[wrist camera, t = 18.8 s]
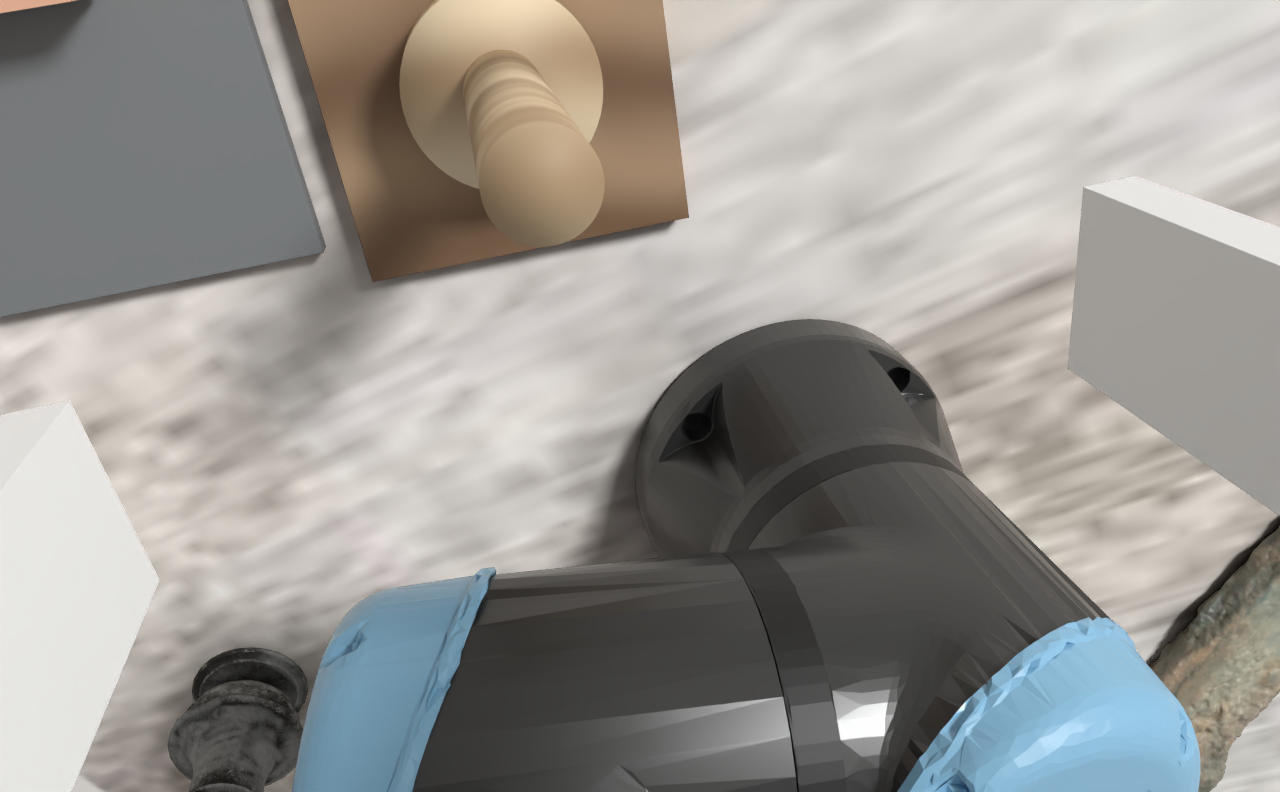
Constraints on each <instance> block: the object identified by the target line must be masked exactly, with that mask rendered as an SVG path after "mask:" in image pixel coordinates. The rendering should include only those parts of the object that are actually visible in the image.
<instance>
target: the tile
mask: <svg viewBox="0 0 1280 792" xmlns="http://www.w3.org/2000/svg"><path fill="white" fill-rule="evenodd" d="M71 1H76V0H0V13H5V12H11V11H17V10H23V9H29V8H35V7H41V6H47V5H53V4H59V3H65V2H71Z"/></svg>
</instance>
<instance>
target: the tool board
mask: <svg viewBox="0 0 1280 792" xmlns="http://www.w3.org/2000/svg"><path fill="white" fill-rule="evenodd" d="M432 1H434V0H288V2H289V6H290V9H291V12H292V16H293V19H294V22H295V26H296V29H297V32H298V36H299V39H300V42H301V45H302V49H303V52H304V55H305V59H306V62H307V65H308V69H309V72H310V75H311V79H312V82H313V85H314V89H315V92H316V95H317V99H318V102H319V105H320V109H321V112H322V115H323V118H324V122H325V125H326V128H327V132H328V135H329V138H330V142H331V145H332V148H333V152H334V155H335V158H336V162H337V165H338V168H339V172H340V175H341V178H342V181H343V185H344V188H345V191H346V195H347V198H348V201H349V205H350V208H351V211H352V215H353V218H354V221H355V225H356V228H357V231H358V235H359V238H360V241H361V245H362V248H363V251H364V254H365V258H366V261H367V264H368V268H369V271H370V274H371V278H372V281H373V282H375V281H380V280H385V279H390V278H395V277H400V276H405V275H410V274H415V273H419V272H424V271H429V270H434V269H439V268H444V267H449V266H454V265H459V264H464V263H468V262H473V261H478V260H483V259H488V258H493V257H498V256H503V255H508V254H513V253H517V252H522V251H527V250H532V249H537V248H542V247H535V246H529V245H524V244H521V243H519V242H516V241H514V240H512V239H511V238H509V237H507V236H506V235H505V234H503V233H502V232H501V231H500V230H499V229H498V228H497V227H496V226H495V225H494V224H493V223H492V221H491V220H490V218H489V217H488V215H487V213H486V211H485V209H484V206H483V203H482V200H481V195H480V189H477V188H474V187H471V186H469V185H466V184H464V183H461V182H459V181H458V180H456V179H454V178H452V177H450V176H449V175H448V174H446V173H445V172H443V171H442V170H441V169H439V168H438V167H437V166H436V165H435V164H434V163H433V162H432V161H431V160H430V159H429V158H428V157H427V156H426V154H425V153H424V152H423V151H422V150H421V148H420V147H419V145H418V144H417V142H416V141H415V139H414V137H413V135H412V133H411V131H410V129H409V127H408V125H407V122H406V119H405V116H404V113H403V109H402V104H401V99H400V86H399V82H400V68H401V63H402V58H403V53H404V49H405V45H406V42H407V39H408V36H409V34H410V32H411V30H412V28H413V26H414V24H415V22H416V21H417V19H418V18H419V16H420V15H421V13H422V12H423V11H424V10H425V9H426V8H427V7H428V5H429V4H430V3H431V2H432ZM555 1H557V2H558V3H560V4H561V5H562V6H563V7H565V8H566V9H567V10H568V11H569V12H570V13H571V14H572V15H573V16H574V17H575V18H576V19H577V21H578V22H579V23H580V24H581V26H582V27H583V29H584V30H585V32H586V33H587V34H588V36H589V38H590V40H591V42H592V44H593V46H594V48H595V51H596V54H597V57H598V59H599V63H600V68H601V72H602V80H603V103H602V110H601V115H600V119H599V122H598V126H597V128H596V131H595V133H594V136H593V138H592V140H591V141H590V143H589V144H590V145H591V147H592V148H593V149H594V151H595V152H596V154H597V156H598V158H599V160H600V163H601V165H602V169H603V173H604V181H605V189H604V197H603V201H602V204H601V207H600V209H599V212H598V214H597V215H596V217H595V219H594V220H593V222H592V223H591V224H590V225H589V227H588V228H587V229H585V230H584V231H583V232H582V233H581V234H580V235H578V236H577V237H575V238H574V239H572V240H570V241H568V242H571V241H576V240H581V239H586V238H591V237H596V236H601V235H606V234H610V233H615V232H620V231H625V230H630V229H635V228H640V227H645V226H650V225H655V224H659V223H664V222H669V221H674V220H679V219H684V218H689V214H688V206H687V198H686V189H685V181H684V173H683V165H682V157H681V149H680V140H679V132H678V124H677V116H676V108H675V99H674V91H673V83H672V75H671V67H670V58H669V50H668V42H667V34H666V26H665V17H664V9H663V1H662V0H555ZM565 243H566V242H565Z"/></svg>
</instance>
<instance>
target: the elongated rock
mask: <svg viewBox="0 0 1280 792" xmlns="http://www.w3.org/2000/svg"><path fill="white" fill-rule="evenodd" d="M1149 667H1150V668H1151V669H1152V671H1153V672H1154V673H1155V674H1156V675H1157V676H1158V678H1159V679H1160V680H1161V681H1162V682H1163V684H1164V685H1165V686H1166V687H1167V688H1168V689H1169V690H1170V692H1171V693H1172V694H1173V695H1174V696H1175V697H1176V699H1177V700H1178V701H1179V702H1180V704H1181V705H1182V707H1183V708H1184V710H1185V712H1186V714H1187V716H1188V717H1189V719H1190V721H1191V723H1192V726H1193V728H1194V731H1195V735H1196V738H1197V741H1198V746H1199V751H1200V782H1199V789H1198V792H1210V791H1211V790H1212V789H1213V788H1214V787H1215V786H1216V785H1217V784H1218V782H1219V781H1220V780H1221V779H1222V778H1223V775H1224V773H1225V768H1226V765H1225V762H1226V760H1227V756H1228V751H1229V749H1230V747H1231V745H1232V743H1233V742H1234V740H1236V737H1240V736H1241V732H1242V731H1243V729H1244V727H1246V726H1247V724H1248V723H1249V722H1250V721H1252V720H1254V718H1256V717H1257V716H1258V715H1259V713H1260V712H1261V711H1262V710H1264V709H1265V708H1267V706H1268V704H1269V703H1270V702H1271V701H1272V699H1273V698H1274V697H1275V696H1276V695H1277V694H1278V693H1279V692H1280V525H1279V528H1278V529H1277V530H1276V531H1275V532H1274V533H1273V534H1271V535H1269V536H1268V537H1267V538H1265V539H1264V540H1263V541H1262V542H1261V544H1260V545H1259V546H1258V547H1257V548H1256V549H1254V550H1253V552H1252V553H1251V555H1250V558H1249V559H1248V560H1247V561H1246V562H1245V564H1244V565H1242V566H1240V567H1239V569H1238V570H1237V571H1235V572H1234V573H1233V574H1232V575H1231V576H1230V578H1229V579H1228V580H1227V581H1226V583H1225V584H1224V585H1223V586H1222V587H1221V589H1220V590H1218V591H1216V592H1215V593H1214V594H1213V595H1211V596H1210V597H1209V598H1208V599H1206V600H1205V601H1204V602H1203V603H1202V604H1201V605H1200V606H1199V607H1198V609H1197V616H1196V617H1195V618H1194V619H1193V620H1192V621H1191V623H1190V624H1189V625H1188V626H1187V628H1186V629H1184V630H1182V631H1181V632H1180V633H1179V634H1178V635H1177V636H1176V639H1175V640H1174V641H1173V642H1171V643H1168V644H1167V645H1166V646H1165V647H1164V649H1163V651H1162V652H1161V653H1160V657H1159V658H1158V659H1157V661H1154V662H1153V663H1152V664H1151V665H1150V666H1149Z"/></svg>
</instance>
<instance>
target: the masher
mask: <svg viewBox="0 0 1280 792" xmlns="http://www.w3.org/2000/svg"><path fill="white" fill-rule="evenodd" d="M399 86H400V99H401V104H402V109H403V113H404V116H405V119H406V122H407V125H408V127H409V129H410V131H411V133H412V135H413V137H414V139H415V141H416V142H417V144H418V145H419V147H420V148H421V150H422V151H423V152H424V153H425V154H426V156H427V157H428V158H429V159H430V160H431V161H432V162H433V163H434V164H435V165H436V166H437V167H438V168H439V169H441V170H442V171H443V172H445V173H446V174H448V175H449V176H450V177H452V178H454V179H456V180H458V181H459V182H461V183H464V184H466V185H469V186H471V187H474V188H477V189H480V195H481V200H482V203H483V206H484V209H485V211H486V213H487V215H488V217H489V218H490V220H491V221H492V223H493V224H494V225H495V226H496V227H497V228H498V229H499V230H500V231H501V232H502V233H503V234H505V235H506V236H507V237H509V238H511V239H512V240H514V241H516V242H519V243H521V244H524V245H529V246H535V247H550V246H556V245H559V244H563V243H565V242H568V241H570V240H572V239H574V238H575V237H577V236H578V235H580V234H581V233H582V232H583V231H584V230H585V229H587V228H588V227H589V225H590V224H591V223H592V222H593V220H594V219H595V217H596V215H597V214H598V212H599V209H600V207H601V204H602V201H603V197H604V189H605V181H604V173H603V169H602V165H601V163H600V160H599V158H598V156H597V154H596V152H595V151H594V149H593V148H592V147H591V145H590V144H589V143H590V141H591V140H592V138H593V136H594V133H595V131H596V128H597V126H598V122H599V119H600V115H601V110H602V103H603V80H602V72H601V68H600V63H599V59H598V57H597V54H596V51H595V48H594V46H593V44H592V42H591V40H590V38H589V36H588V34H587V33H586V32H585V30H584V29H583V27H582V26H581V24H580V23H579V22H578V21H577V19H576V18H575V17H574V16H573V15H572V14H571V13H570V12H569V11H568V10H567V9H566V8H565V7H563V6H562V5H561V4H560V3H558V2H557V1H555V0H434V1H432V2H431V3H430V4H429V5H428V7H427V8H426V9H425V10H424V11H423V12H422V13H421V15H420V16H419V18H418V19H417V21H416V22H415V24H414V26H413V28H412V30H411V32H410V34H409V36H408V39H407V42H406V45H405V49H404V53H403V58H402V63H401V68H400V82H399Z"/></svg>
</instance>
